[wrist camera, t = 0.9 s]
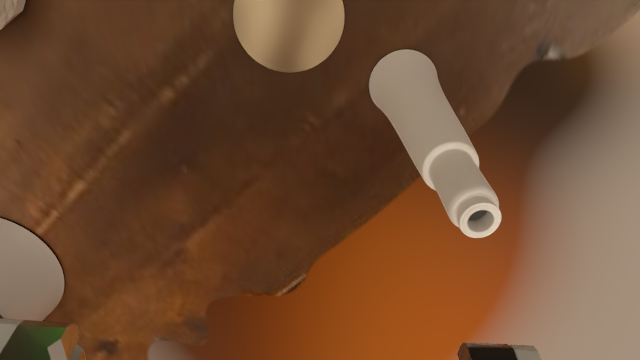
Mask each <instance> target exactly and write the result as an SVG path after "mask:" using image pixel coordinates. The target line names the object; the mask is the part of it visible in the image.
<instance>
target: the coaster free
mask: <svg viewBox="0 0 640 360" xmlns="http://www.w3.org/2000/svg"><path fill="white" fill-rule="evenodd" d="M344 19H345V15H344V6H343V1H342V0H235V2H234V9H233V21H234V27H235V31H236V34H237V37H238V39H239V41H240V43H241V45H242V46H243V48H244V49H245V50H246V52H247V53H248V54H249V55H250V56H251V57H252V58H253V59H254V60H256V61H257V62H258V63H260V64H261V65H263V66H265V67H267V68H269V69H272V70H275V71H280V72H300V71H304V70H307V69H310V68H312V67H314V66H316V65H318V64H320V63H321V62H323V61H324V60H325V59H326V58H327V57H328V56H329V55H330V54H331V53H332V52H333V50H334V49H335V47H336V46H337V44H338V42H339V40H340V38H341V35H342V32H343V27H344Z"/></svg>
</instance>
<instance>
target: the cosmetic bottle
mask: <svg viewBox="0 0 640 360" xmlns="http://www.w3.org/2000/svg"><path fill="white" fill-rule="evenodd" d="M369 92H370V95H371V98H372V100H373V102H374V103H375V105H376V106H377V107H378V108H379V109H380V110H382V111H383V113H384V114H385V115H386V116H387V118H388V119H389V120H390V122H391V124H392V125H393V127H394V128H395V130H396V132H397V134H398V135H399V137H400V139H401V141H402V143H403V144H404V146H405V148H406V150H407V152H408V154H409V155H410V157H411V159H412V161H413V163H414V164H415V166H416V168H417V170H418V171H419V173H420V174H421V176H422V178H423V179H424V181H425V182H426V184H427V185H428V186H429V187H430V188H432V189H434V190H436V191H437V193H438V195H439V197H440V199H441V201H442V204H443V206H444V208H445V210H446V212H447V214H448V216H449V218H450V220H451V221H452V223H454V225H456V226H457V227H459V228H460V229H461V231H462V232H463V233H464V234H465V235H467V236H469V237H472V238H482V237H485V236H488V235H490V234H491V233H493V232H494V231H495V230H496V229H497V228H498V226H499V225H500V222H501V212H500V210H499V202H498V198H497V196H496V194H495V192H494V191H493V190H492V188H491V186H490V185H489V184H488V182H487V180H486V179H485V177H484V176H483V174H482V173H481V171H480V170H479V158H478V155H477V153H476V151H475V149H474V147H473V145H472V143H471V141H470V139H469V137H468V136H467V134H466V132H465V130H464V128H463V127H462V125H461V123H460V121H459V120H458V118H457V116H456V115H455V113H454V111H453V109H452V108H451V106H450V104H449V102H448V101H447V99H446V97H445V95H444V93H443V91H442V89H441V86H440V84H439V81H438V76H437V71H436V68H435V66H434V64H433V63H432V61H431V60H430V59H429V58H428V57H427V56H425V55H424V54H422V53H420V52H418V51H415V50H408V49H405V50H398V51H394V52H392V53H390V54H388V55H386V56H385V57H383V58H382V59H381V60H380V61H379V62H378V63H377V64H376V66H375V67H374V69H373V71H372V73H371V76H370V80H369Z"/></svg>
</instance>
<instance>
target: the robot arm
mask: <svg viewBox="0 0 640 360" xmlns="http://www.w3.org/2000/svg"><path fill="white" fill-rule="evenodd" d="M63 292H64V275H63V271H62V268H61V266H60V264H59V262H58V260H57V258H56V257H55V255H54V254H53V252H52V251H51V250H50V249H49V247H48V246H47V245H46V244H45V243H44V242H43V241H41V240H40V239H39V238H38V237H37V236H35V235H34V234H33V233H31V232H30V231H28V230H26V229H25V228H23V227H21V226H19V225H17V224H15V223H13V222H10V221H8V220H5V219H2V218H0V360H86V357H85V353H84V349H83V348H81V347H80V346H79V345H78V344H77V343H76V342H77V340H78V338H79V335H80V334H79V331H78V328H77V325H76V324H71V323H58V322H45V321H43V320H44V319H45V318H46V317H47V316H48V315H49V314H50V313H51V312H52V311H53V310H54V309H55V308H56V306H57V305H58V304H59V302H60V300H61V298H62V296H63ZM458 358H459V360H541V357H540V355H539V353H538V350H537V349H536V348H535V347H534V346H525V345H508V344H489V343H462V344H461V346H460V348H459V351H458Z"/></svg>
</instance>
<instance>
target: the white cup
mask: <svg viewBox="0 0 640 360" xmlns="http://www.w3.org/2000/svg"><path fill="white" fill-rule="evenodd" d="M25 2H26V0H0V30H1V29H2V28H3V27H4V26H5V25H6V24H8V23H10V22H11V21H12V20H13V19H14V18H15V17H16V16H17V15H19V14H20V13H21V12H22V11H23V9H24V5H25Z"/></svg>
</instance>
